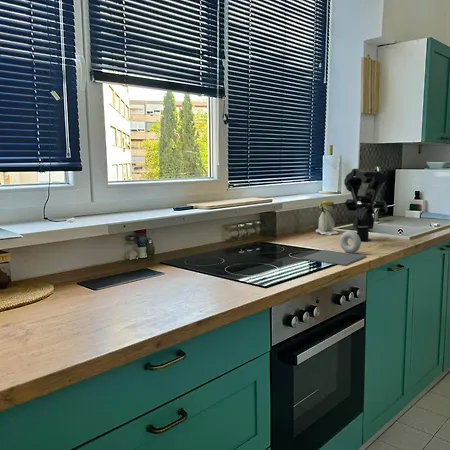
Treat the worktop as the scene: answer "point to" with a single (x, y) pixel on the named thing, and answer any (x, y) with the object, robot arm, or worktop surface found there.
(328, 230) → the white figurine
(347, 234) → the donut
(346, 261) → the mat
